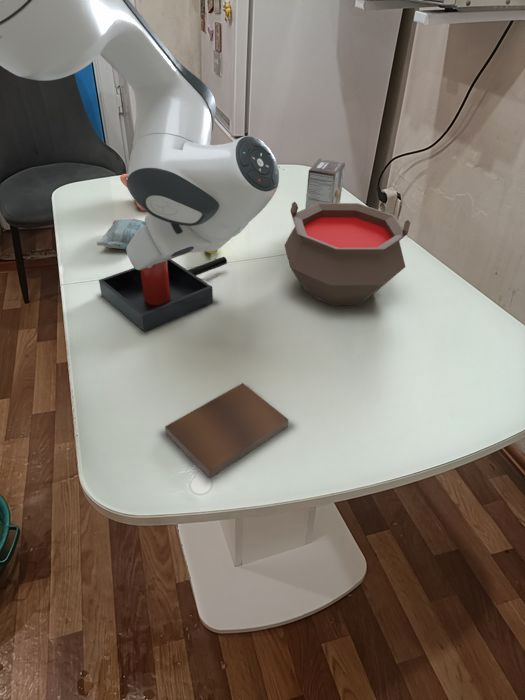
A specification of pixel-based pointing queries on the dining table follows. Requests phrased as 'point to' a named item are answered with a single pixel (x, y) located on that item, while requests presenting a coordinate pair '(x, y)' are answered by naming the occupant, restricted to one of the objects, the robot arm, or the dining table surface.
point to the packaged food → (121, 233)
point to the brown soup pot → (344, 250)
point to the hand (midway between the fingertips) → (173, 254)
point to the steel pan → (183, 299)
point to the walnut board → (226, 429)
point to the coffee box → (325, 182)
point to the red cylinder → (156, 284)
